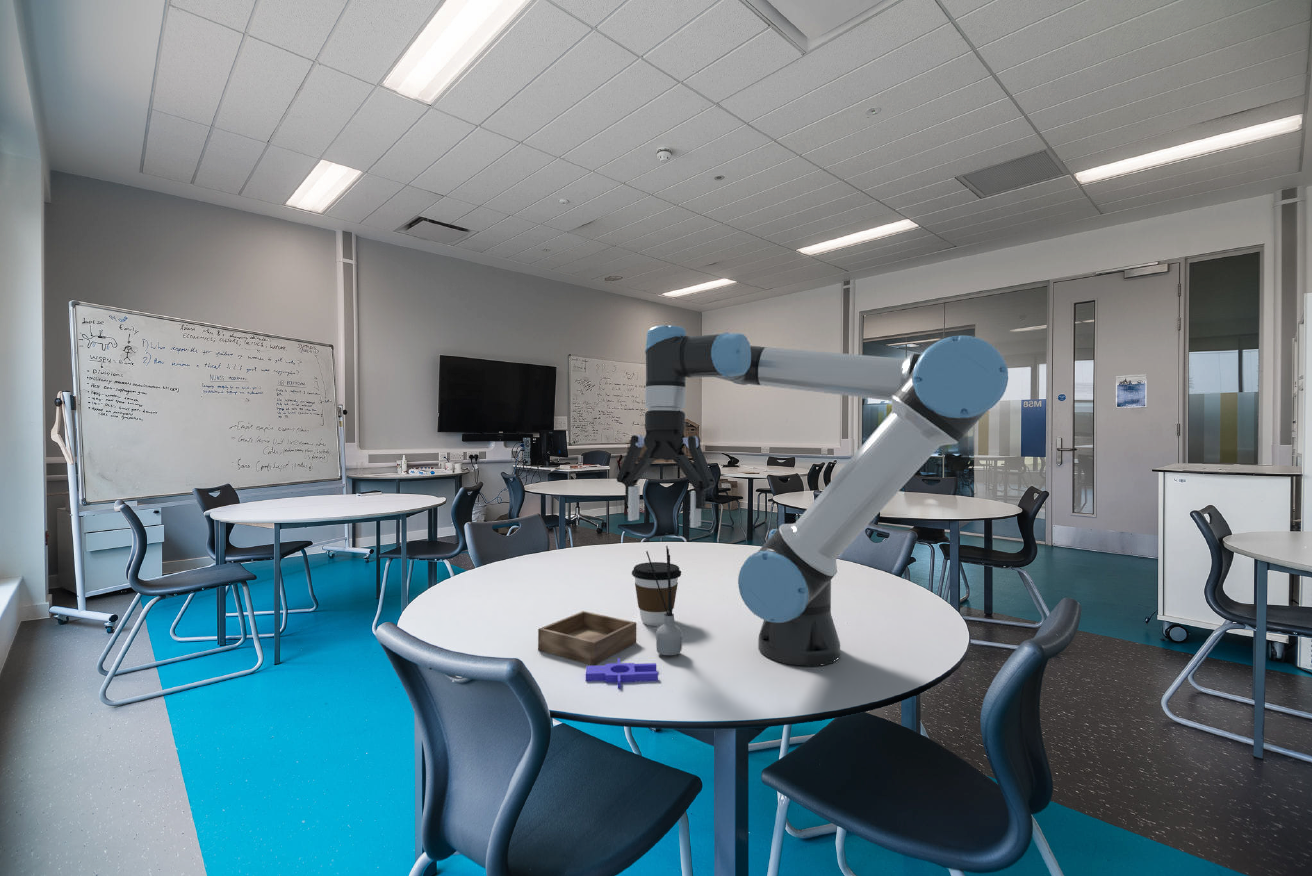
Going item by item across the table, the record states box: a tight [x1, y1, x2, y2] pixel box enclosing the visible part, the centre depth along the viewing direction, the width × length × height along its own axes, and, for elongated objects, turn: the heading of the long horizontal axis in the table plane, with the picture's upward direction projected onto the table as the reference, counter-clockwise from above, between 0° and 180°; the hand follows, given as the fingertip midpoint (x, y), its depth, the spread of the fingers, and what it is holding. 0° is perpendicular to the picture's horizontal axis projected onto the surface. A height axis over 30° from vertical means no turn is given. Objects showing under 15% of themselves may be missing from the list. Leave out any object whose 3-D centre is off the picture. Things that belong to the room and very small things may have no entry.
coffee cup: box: [631, 561, 682, 627], centre depth 126 cm, size 11×11×12 cm
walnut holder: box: [537, 610, 637, 666], centre depth 111 cm, size 13×13×4 cm
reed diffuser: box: [645, 545, 683, 656], centre depth 108 cm, size 10×7×20 cm
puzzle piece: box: [585, 657, 659, 690], centre depth 97 cm, size 10×12×2 cm
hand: (663, 523), depth 108 cm, fingers open, 13 cm apart
